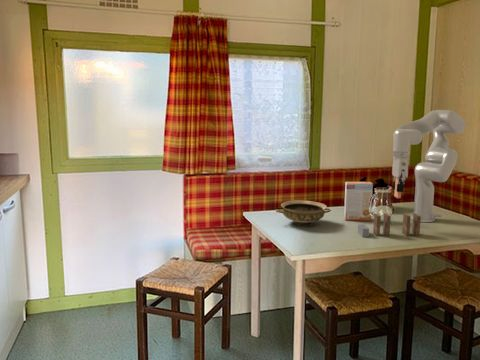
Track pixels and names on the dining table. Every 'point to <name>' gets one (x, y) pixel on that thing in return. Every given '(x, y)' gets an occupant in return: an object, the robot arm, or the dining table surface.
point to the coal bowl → (379, 184)
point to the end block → (363, 230)
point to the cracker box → (357, 201)
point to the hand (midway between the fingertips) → (397, 190)
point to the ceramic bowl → (303, 211)
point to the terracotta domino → (396, 194)
